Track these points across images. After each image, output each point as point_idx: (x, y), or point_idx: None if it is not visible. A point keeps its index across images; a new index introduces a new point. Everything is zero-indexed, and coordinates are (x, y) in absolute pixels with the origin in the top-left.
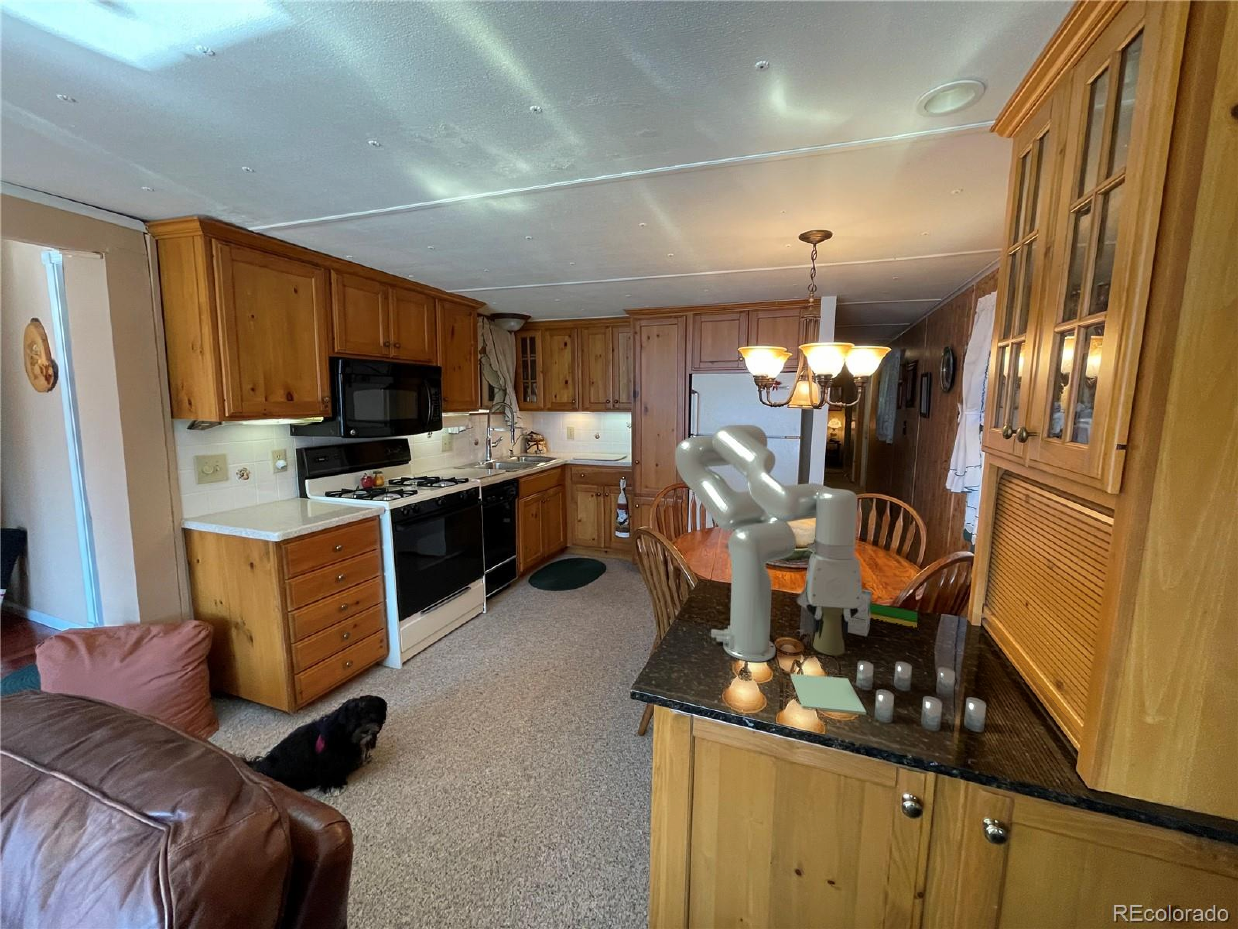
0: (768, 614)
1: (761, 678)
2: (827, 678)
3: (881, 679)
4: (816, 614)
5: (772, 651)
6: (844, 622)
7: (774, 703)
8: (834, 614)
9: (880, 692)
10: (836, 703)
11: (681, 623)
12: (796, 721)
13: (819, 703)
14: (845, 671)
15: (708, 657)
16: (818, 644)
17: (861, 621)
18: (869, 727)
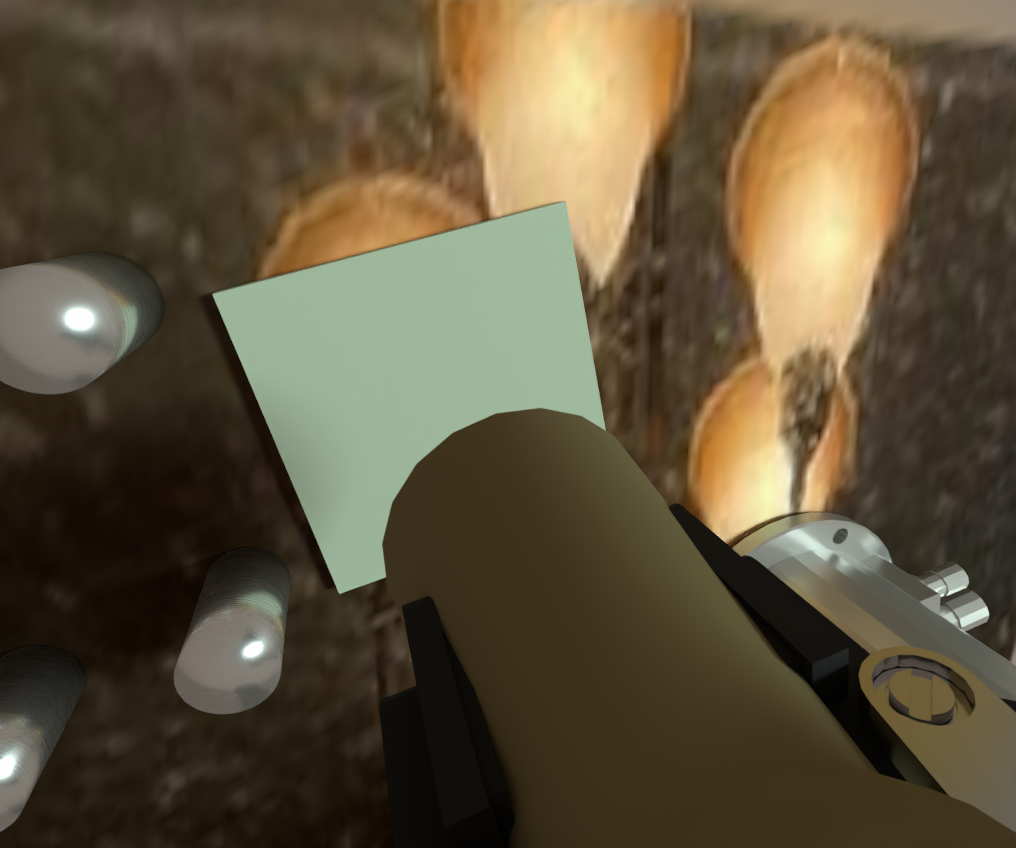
0: None
1: (739, 402)
2: None
3: (161, 694)
4: (988, 708)
5: None
6: (465, 805)
7: (691, 195)
8: (769, 834)
9: (77, 336)
10: (386, 309)
11: None
12: (589, 55)
13: (477, 267)
14: (352, 669)
15: (940, 465)
16: (640, 472)
17: None
18: (184, 159)
